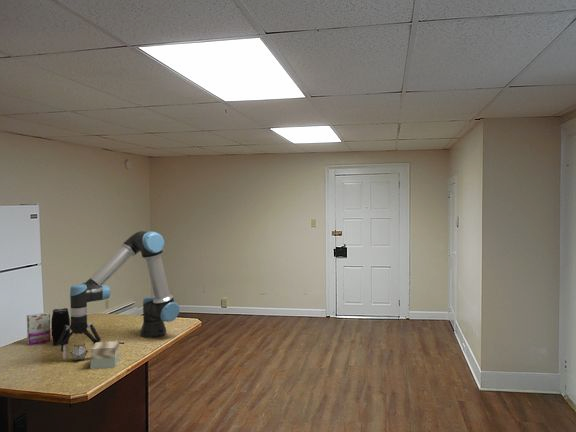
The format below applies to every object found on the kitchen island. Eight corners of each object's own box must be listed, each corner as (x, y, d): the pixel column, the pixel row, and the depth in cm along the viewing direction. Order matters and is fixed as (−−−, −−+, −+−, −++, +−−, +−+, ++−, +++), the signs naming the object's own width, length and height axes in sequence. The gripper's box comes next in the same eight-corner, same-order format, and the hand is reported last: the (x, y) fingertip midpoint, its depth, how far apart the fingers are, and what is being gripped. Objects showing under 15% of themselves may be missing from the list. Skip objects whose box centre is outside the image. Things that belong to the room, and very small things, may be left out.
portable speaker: (48, 344, 254) (48, 310, 253) (64, 340, 261) (64, 307, 261) (57, 347, 249) (56, 312, 249) (73, 342, 257) (72, 308, 256)
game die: (80, 368, 226) (79, 356, 220) (66, 361, 228) (64, 349, 222) (93, 355, 233) (91, 343, 227) (79, 348, 235) (77, 336, 229)
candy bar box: (48, 339, 263) (48, 312, 262) (50, 341, 259) (50, 313, 259) (26, 343, 256) (26, 315, 255) (28, 345, 252) (28, 316, 251)
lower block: (118, 360, 227) (118, 350, 227) (114, 368, 217) (114, 357, 216) (95, 362, 225) (95, 352, 225) (90, 369, 214) (90, 359, 214)
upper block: (118, 350, 227) (118, 341, 227) (114, 357, 216) (114, 347, 216) (95, 352, 225) (95, 342, 225) (90, 359, 214) (90, 349, 214)
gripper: (106, 312, 233) (106, 352, 234) (54, 314, 228) (54, 356, 228) (103, 315, 226) (104, 357, 226) (49, 318, 221) (50, 361, 221)
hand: (79, 357), depth 227 cm, fingers open, 13 cm apart
